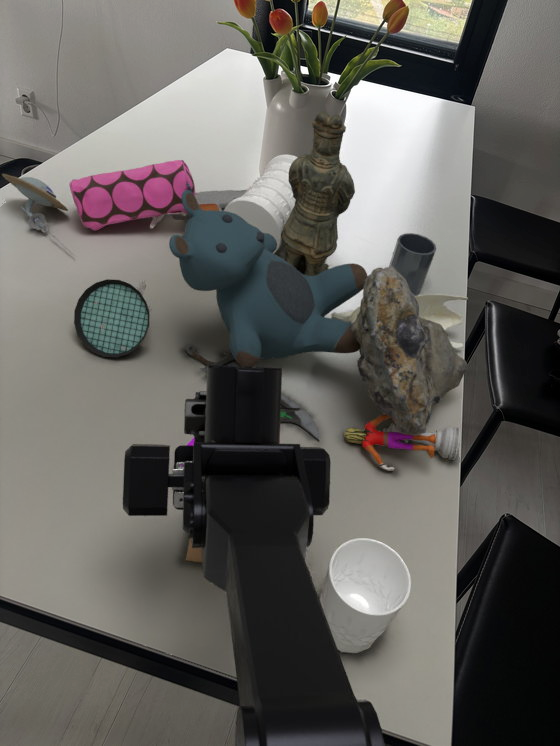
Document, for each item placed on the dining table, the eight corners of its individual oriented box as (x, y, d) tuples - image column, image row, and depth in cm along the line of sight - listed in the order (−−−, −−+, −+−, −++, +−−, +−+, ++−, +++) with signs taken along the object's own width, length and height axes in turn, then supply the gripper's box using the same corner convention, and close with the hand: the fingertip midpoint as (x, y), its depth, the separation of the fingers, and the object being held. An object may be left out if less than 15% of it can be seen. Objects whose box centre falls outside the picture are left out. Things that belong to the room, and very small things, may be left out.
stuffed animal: (369, 383, 83) (252, 257, 63) (258, 405, 92) (126, 301, 72) (374, 251, 95) (277, 110, 75) (275, 283, 104) (165, 164, 84)
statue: (340, 274, 113) (382, 108, 92) (323, 300, 106) (364, 127, 86) (284, 254, 115) (313, 88, 94) (264, 278, 108) (290, 105, 88)
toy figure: (350, 409, 86) (348, 402, 83) (438, 421, 82) (439, 414, 80) (339, 464, 82) (337, 458, 80) (431, 479, 79) (431, 473, 77)
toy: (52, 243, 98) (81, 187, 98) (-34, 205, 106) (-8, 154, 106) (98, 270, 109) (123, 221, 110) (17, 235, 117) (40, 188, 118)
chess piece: (458, 454, 80) (381, 438, 82) (452, 464, 84) (379, 450, 85) (462, 423, 82) (387, 409, 83) (455, 435, 86) (384, 421, 87)
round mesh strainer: (82, 266, 88) (99, 272, 94) (67, 348, 88) (84, 349, 94) (157, 281, 87) (169, 286, 93) (141, 364, 87) (154, 364, 94)
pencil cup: (422, 299, 111) (438, 257, 105) (385, 293, 110) (399, 250, 104) (418, 278, 116) (433, 236, 110) (383, 272, 115) (396, 230, 109)
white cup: (378, 670, 62) (406, 626, 55) (303, 645, 62) (321, 598, 56) (388, 599, 67) (415, 552, 61) (319, 577, 68) (338, 527, 61)
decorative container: (276, 267, 111) (313, 216, 122) (285, 214, 102) (323, 164, 113) (219, 244, 113) (260, 196, 124) (223, 190, 104) (267, 144, 115)
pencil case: (185, 154, 104) (198, 214, 107) (190, 160, 114) (201, 215, 116) (61, 176, 104) (76, 236, 106) (76, 181, 113) (90, 236, 116)
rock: (335, 365, 67) (479, 356, 63) (344, 241, 80) (465, 228, 76) (364, 478, 86) (475, 476, 83) (367, 363, 99) (464, 358, 95)
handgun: (318, 220, 120) (284, 182, 129) (189, 233, 109) (162, 191, 118) (314, 236, 122) (281, 199, 131) (188, 251, 111) (162, 209, 120)
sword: (337, 426, 85) (308, 451, 81) (207, 337, 95) (175, 355, 90) (338, 422, 85) (309, 448, 80) (207, 333, 94) (175, 352, 90)
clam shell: (475, 285, 97) (468, 356, 100) (436, 274, 107) (430, 339, 111) (345, 292, 90) (343, 368, 94) (317, 280, 101) (316, 348, 105)
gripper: (351, 397, 51) (310, 394, 67) (121, 390, 48) (134, 389, 64) (347, 531, 51) (307, 497, 66) (115, 533, 48) (129, 497, 63)
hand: (221, 468), depth 65 cm, fingers closed on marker, 3 cm apart
